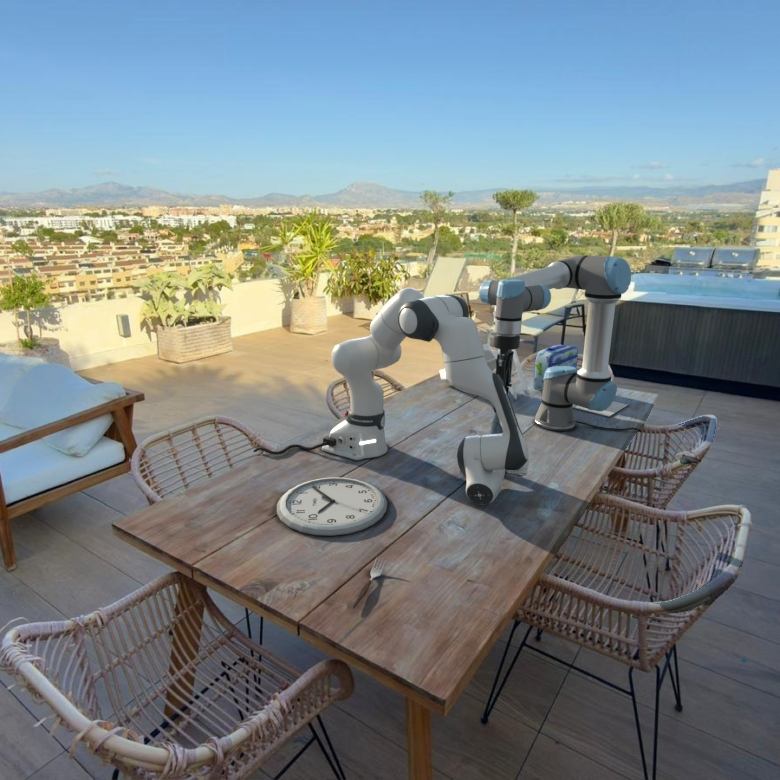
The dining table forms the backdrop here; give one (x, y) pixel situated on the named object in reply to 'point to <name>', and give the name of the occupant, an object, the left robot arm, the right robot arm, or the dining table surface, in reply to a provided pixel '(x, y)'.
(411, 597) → the dining table surface
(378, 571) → the fork
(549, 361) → the lunch box
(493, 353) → the white plastic object
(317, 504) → the wall clock
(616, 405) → the invitation card
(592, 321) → the right robot arm
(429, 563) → the dining table surface
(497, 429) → the bottle
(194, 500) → the dining table surface
